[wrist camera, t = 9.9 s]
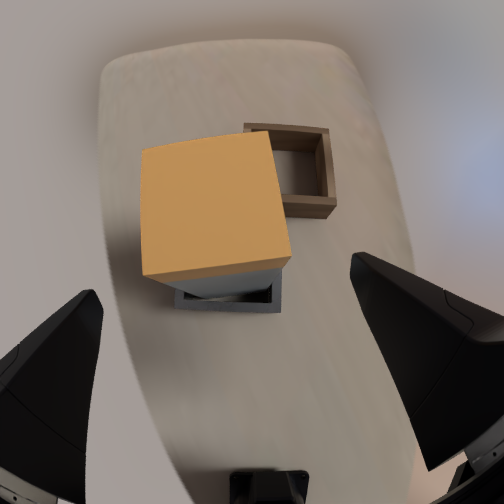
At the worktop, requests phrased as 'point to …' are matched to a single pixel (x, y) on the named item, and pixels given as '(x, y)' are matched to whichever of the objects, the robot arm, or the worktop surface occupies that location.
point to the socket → (274, 305)
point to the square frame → (321, 146)
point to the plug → (213, 215)
